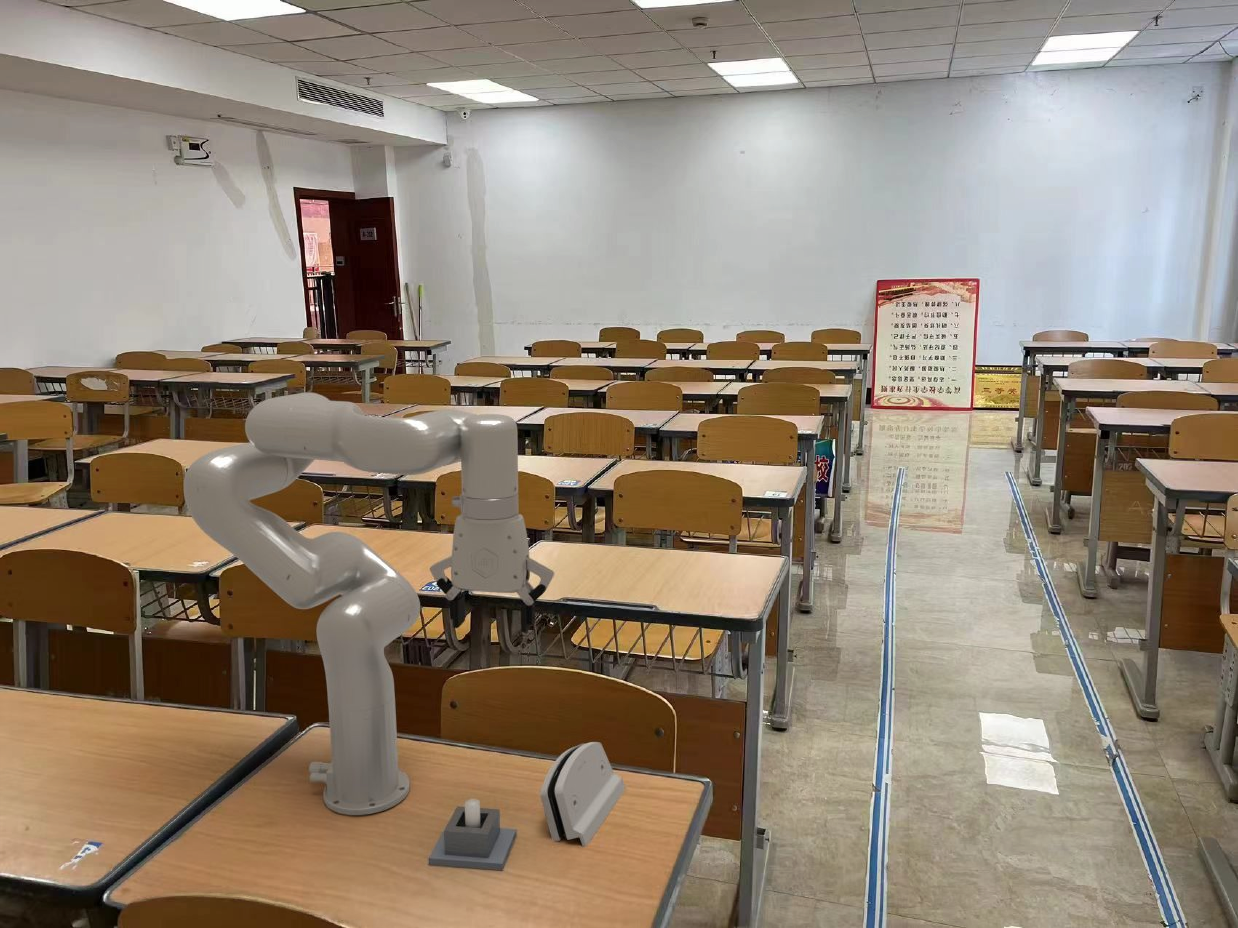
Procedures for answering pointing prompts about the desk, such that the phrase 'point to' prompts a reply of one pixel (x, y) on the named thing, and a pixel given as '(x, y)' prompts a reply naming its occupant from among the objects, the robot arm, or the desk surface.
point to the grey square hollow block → (472, 834)
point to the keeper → (491, 863)
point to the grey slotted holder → (580, 792)
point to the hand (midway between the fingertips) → (492, 626)
